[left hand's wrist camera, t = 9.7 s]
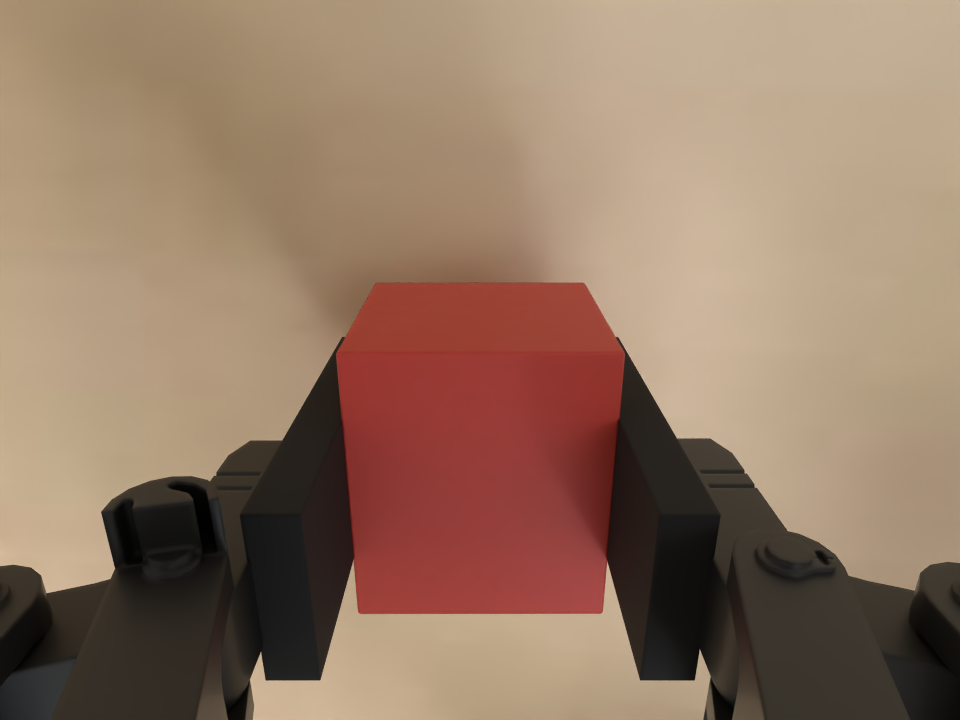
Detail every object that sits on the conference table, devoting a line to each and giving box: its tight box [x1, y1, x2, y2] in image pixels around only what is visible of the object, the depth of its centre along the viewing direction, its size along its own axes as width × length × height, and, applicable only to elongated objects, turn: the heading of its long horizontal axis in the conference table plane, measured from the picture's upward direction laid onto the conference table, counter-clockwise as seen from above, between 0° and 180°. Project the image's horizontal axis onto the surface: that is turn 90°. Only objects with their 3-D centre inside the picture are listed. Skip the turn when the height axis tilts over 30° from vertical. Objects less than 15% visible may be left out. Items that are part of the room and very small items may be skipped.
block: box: [336, 283, 625, 614], centre depth 13 cm, size 5×4×4 cm
